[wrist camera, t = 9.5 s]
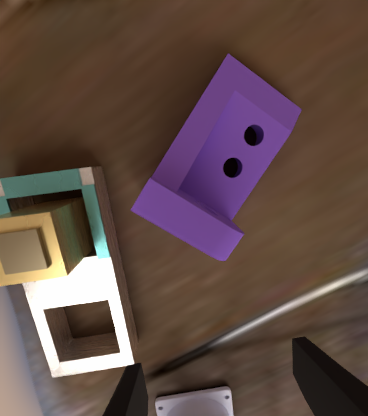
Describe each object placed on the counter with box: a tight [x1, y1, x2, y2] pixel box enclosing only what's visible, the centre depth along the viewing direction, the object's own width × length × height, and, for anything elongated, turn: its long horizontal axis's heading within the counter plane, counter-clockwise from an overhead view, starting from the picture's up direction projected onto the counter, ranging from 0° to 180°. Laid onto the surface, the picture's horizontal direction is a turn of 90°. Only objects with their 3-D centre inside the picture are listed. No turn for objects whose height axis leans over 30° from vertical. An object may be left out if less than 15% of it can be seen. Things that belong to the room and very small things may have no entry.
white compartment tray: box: [0, 166, 138, 377], centre depth 18 cm, size 17×7×3 cm, turn 7°
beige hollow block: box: [0, 197, 95, 286], centre depth 15 cm, size 4×4×6 cm
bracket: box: [131, 53, 302, 261], centre depth 15 cm, size 12×7×7 cm, turn 148°
